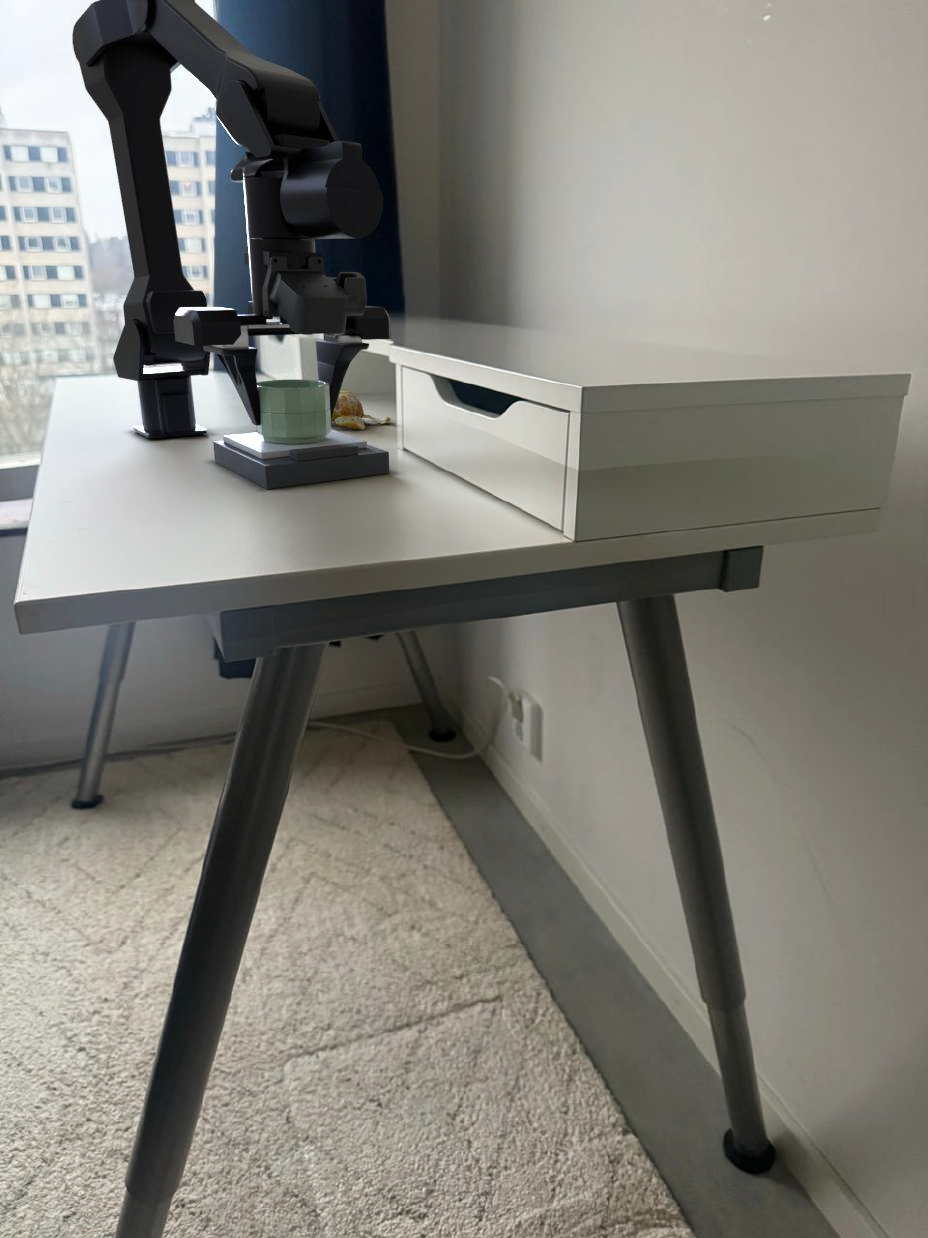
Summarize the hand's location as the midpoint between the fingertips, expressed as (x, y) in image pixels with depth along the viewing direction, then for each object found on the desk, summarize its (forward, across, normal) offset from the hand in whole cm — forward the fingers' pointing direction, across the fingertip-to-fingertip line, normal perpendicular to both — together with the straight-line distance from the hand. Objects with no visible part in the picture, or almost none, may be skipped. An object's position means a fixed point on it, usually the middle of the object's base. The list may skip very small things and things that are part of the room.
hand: (292, 421), depth 81 cm
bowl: (+2, 0, 0) cm, 2 cm away
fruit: (+4, +15, +18) cm, 24 cm away
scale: (+4, 0, -1) cm, 4 cm away
